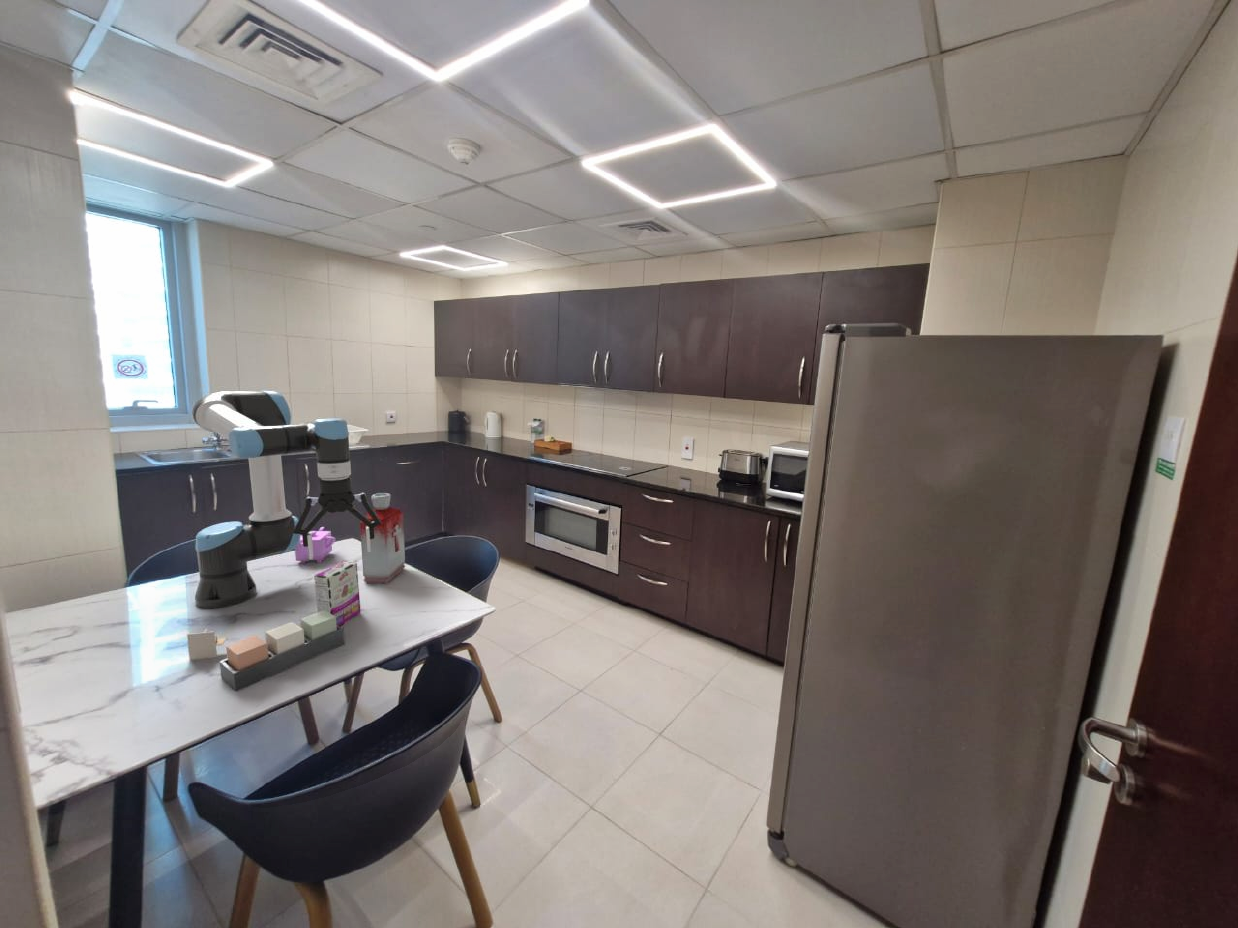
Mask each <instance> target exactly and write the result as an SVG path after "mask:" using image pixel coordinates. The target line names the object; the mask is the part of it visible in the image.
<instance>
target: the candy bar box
mask: <svg viewBox="0 0 1238 928" xmlns="http://www.w3.org/2000/svg"><path fill="white" fill-rule="evenodd" d="M357 564H358V563H357V562H354V561H346V560H345V561H344V560H343V561H341V562H340V563H337V564H335V565H333V566H331V567H329V568H327V569H325V570H323V571H321V572H319V573H317V574H316V575H314V585H315V586H314V587H315V594H316V595H315V596H316V604H317V605H316V606H317V613H318V612H320V611H323V610H325V611H326V612H328V613H330V614H332V615H334V616H335V617H336V625H338V626H340V627H342V626H343V625H344V624H346V623H349V622H348V621H351V620H352V619H353V618H355V617H357V616H358V615H359V614H361V599H360V590H359V589H360V588H359V577H358V565H357Z"/></svg>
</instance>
